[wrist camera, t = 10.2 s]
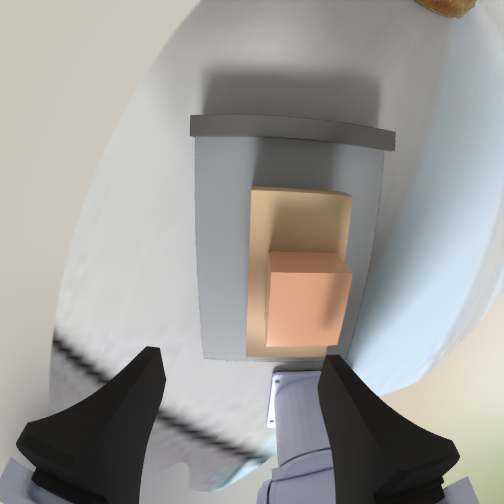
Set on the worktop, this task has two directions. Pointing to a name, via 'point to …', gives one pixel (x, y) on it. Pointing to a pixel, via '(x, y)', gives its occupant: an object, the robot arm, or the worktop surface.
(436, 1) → the brown rounded lump
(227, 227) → the dock
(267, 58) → the worktop surface
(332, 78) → the worktop surface
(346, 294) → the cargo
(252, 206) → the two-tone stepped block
